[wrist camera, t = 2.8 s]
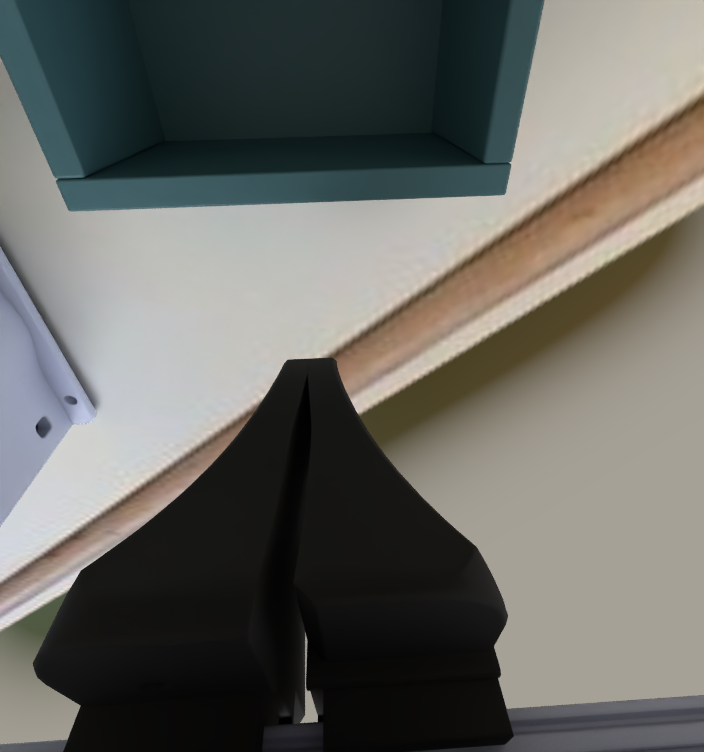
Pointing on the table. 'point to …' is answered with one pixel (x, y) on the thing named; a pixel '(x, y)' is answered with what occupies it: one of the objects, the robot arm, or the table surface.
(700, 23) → the table surface
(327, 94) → the drawer
